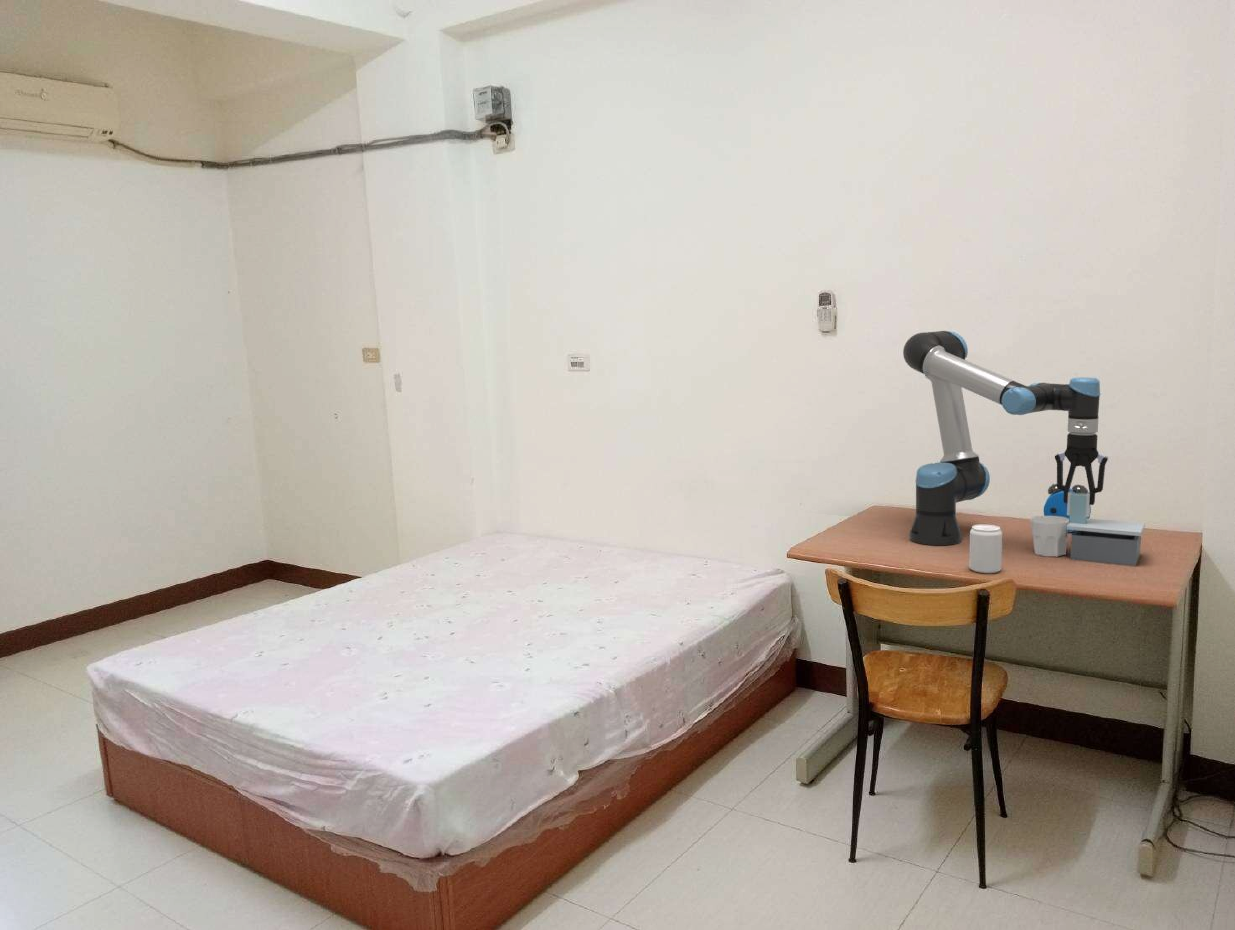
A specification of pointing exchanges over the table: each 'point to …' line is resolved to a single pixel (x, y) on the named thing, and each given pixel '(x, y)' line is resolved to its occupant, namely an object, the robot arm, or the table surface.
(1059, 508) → the alarm clock
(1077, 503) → the pale blue stand
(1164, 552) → the table surface
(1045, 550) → the cup
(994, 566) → the beverage can
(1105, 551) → the tub
